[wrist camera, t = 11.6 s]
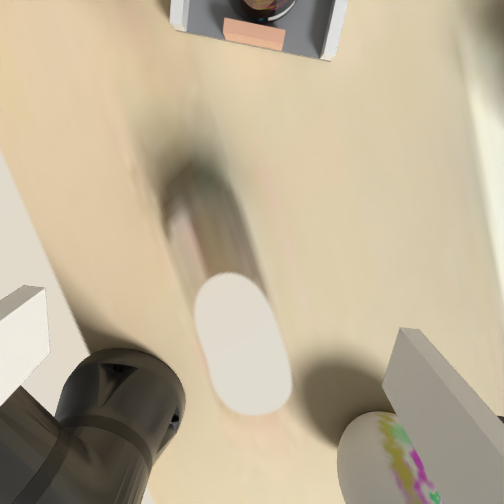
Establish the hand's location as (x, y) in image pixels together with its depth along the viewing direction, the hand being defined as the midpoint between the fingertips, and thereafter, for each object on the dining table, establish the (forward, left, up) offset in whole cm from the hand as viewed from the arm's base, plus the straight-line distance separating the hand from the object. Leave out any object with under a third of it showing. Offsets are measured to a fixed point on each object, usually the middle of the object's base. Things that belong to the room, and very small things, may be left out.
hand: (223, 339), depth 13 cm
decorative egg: (-6, -35, -24) cm, 43 cm away
